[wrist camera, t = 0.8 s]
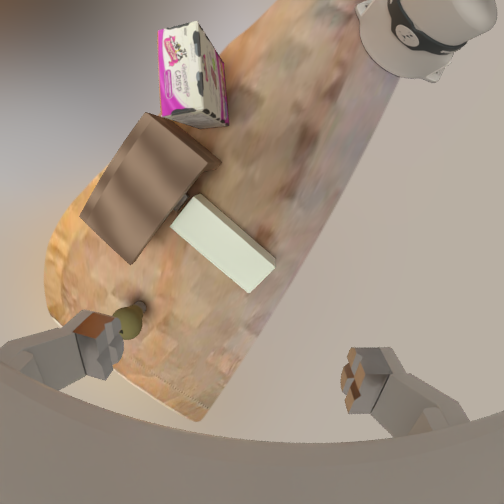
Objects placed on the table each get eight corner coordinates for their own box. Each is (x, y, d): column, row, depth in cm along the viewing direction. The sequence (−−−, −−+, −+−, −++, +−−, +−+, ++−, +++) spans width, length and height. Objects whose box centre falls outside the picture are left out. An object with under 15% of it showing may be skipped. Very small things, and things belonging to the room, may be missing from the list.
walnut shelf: (171, 120, 41) (145, 111, 32) (222, 162, 43) (207, 163, 33) (111, 204, 46) (79, 216, 37) (156, 245, 48) (130, 265, 38)
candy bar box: (193, 67, 38) (155, 28, 23) (224, 62, 38) (199, 18, 22) (198, 131, 42) (158, 118, 26) (230, 127, 41) (205, 109, 26)
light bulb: (144, 287, 51) (120, 313, 41) (160, 312, 52) (140, 341, 43) (124, 297, 52) (99, 323, 42) (139, 320, 53) (118, 349, 44)
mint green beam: (200, 193, 45) (193, 196, 41) (275, 258, 47) (275, 267, 43) (177, 221, 46) (169, 226, 43) (251, 283, 49) (249, 293, 45)
